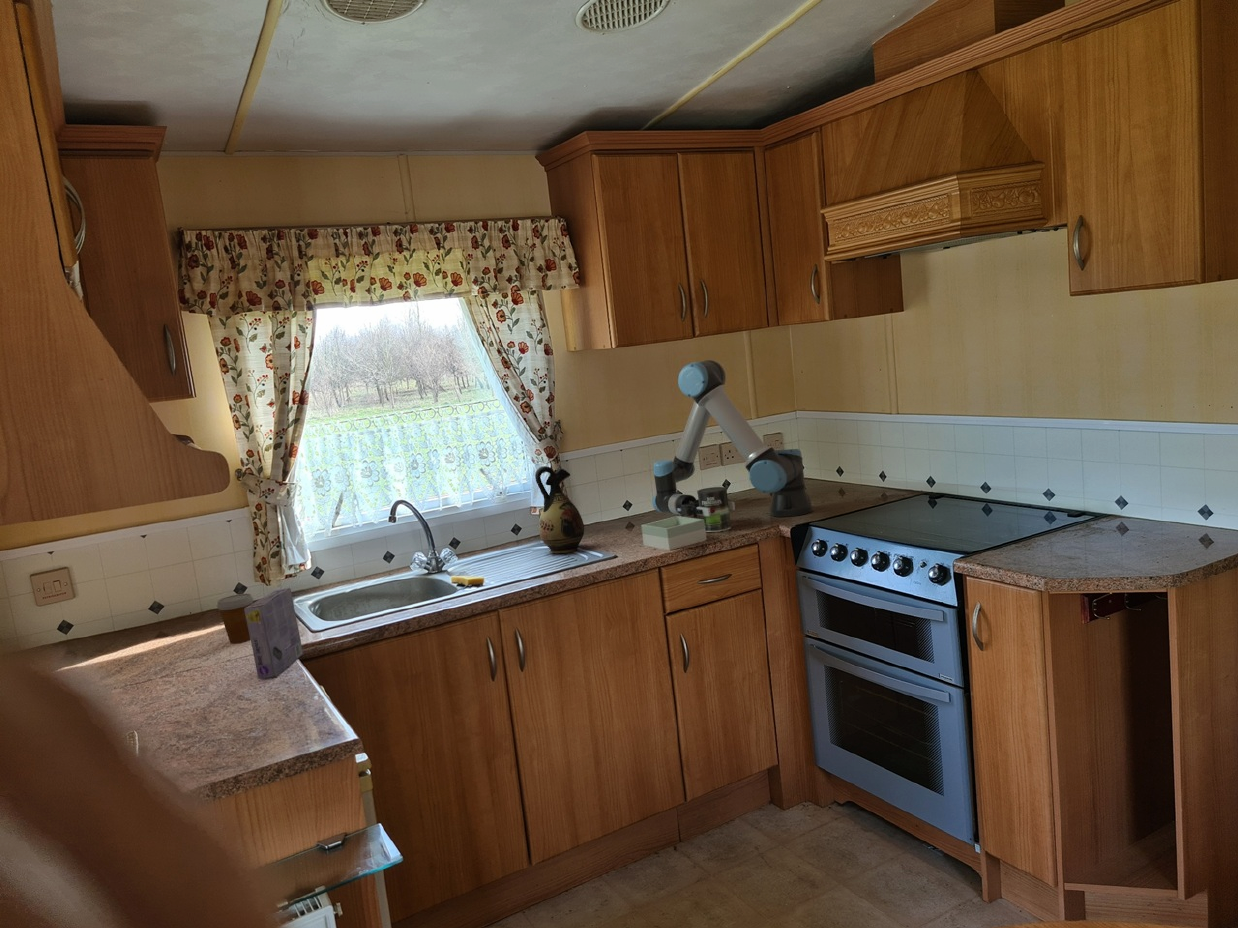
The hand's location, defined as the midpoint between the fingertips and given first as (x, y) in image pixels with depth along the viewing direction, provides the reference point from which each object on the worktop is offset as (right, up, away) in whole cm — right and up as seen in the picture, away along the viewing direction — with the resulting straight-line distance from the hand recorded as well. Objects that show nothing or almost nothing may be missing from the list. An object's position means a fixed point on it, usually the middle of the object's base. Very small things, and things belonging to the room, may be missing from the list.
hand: (721, 509), depth 323 cm
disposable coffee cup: (-139, -33, -61) cm, 156 cm away
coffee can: (-1, -7, +5) cm, 9 cm away
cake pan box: (-117, -34, -92) cm, 153 cm away
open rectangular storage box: (-16, -11, -8) cm, 21 cm away
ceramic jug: (-54, -15, +2) cm, 56 cm away
